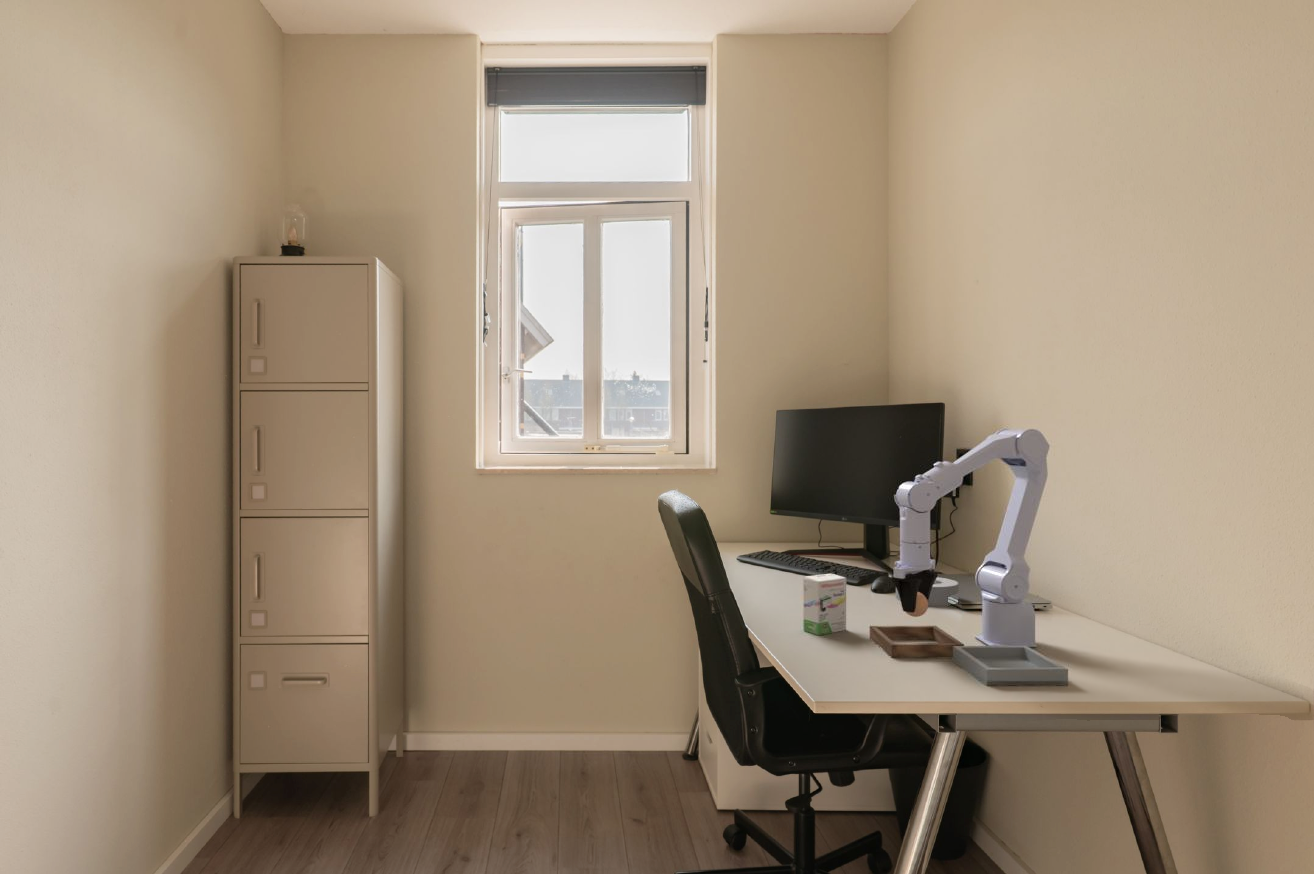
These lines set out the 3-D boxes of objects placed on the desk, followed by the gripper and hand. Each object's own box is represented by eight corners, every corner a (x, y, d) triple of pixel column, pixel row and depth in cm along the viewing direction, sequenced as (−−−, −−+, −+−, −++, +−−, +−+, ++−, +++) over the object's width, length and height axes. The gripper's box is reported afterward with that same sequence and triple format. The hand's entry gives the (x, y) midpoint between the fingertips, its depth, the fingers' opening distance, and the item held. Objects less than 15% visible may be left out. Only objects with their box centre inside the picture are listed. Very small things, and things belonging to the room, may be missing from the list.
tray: (1026, 660, 142) (1026, 645, 142) (1067, 685, 128) (1068, 669, 128) (952, 660, 142) (952, 645, 142) (986, 685, 128) (986, 669, 128)
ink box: (818, 635, 159) (818, 580, 159) (802, 630, 163) (802, 576, 163) (847, 630, 163) (847, 576, 163) (831, 625, 168) (831, 572, 168)
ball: (922, 613, 153) (922, 588, 153) (932, 619, 148) (932, 594, 148) (898, 613, 153) (898, 588, 153) (906, 619, 148) (906, 594, 148)
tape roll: (886, 594, 200) (886, 575, 200) (940, 593, 202) (940, 574, 202) (911, 608, 185) (911, 587, 185) (970, 606, 187) (970, 586, 187)
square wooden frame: (935, 637, 158) (935, 625, 158) (964, 657, 144) (964, 644, 144) (869, 637, 157) (869, 625, 157) (891, 657, 143) (891, 644, 143)
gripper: (912, 536, 158) (912, 600, 159) (879, 543, 148) (879, 612, 148) (945, 539, 154) (945, 605, 154) (913, 547, 143) (913, 618, 143)
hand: (914, 609), depth 151 cm, fingers closed on ball, 5 cm apart
